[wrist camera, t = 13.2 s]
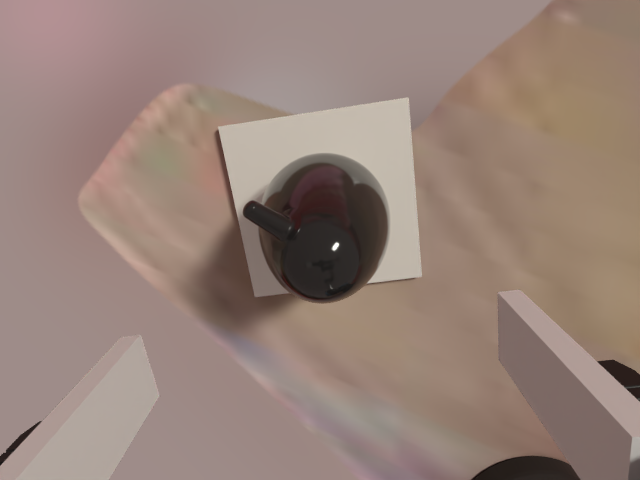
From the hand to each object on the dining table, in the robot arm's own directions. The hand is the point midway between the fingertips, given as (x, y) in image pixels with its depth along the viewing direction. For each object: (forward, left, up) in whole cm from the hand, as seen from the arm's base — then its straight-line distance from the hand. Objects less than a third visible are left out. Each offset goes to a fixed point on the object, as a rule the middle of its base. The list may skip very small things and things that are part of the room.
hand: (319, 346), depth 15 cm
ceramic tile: (0, 0, -23) cm, 23 cm away
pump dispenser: (0, 0, -22) cm, 22 cm away
